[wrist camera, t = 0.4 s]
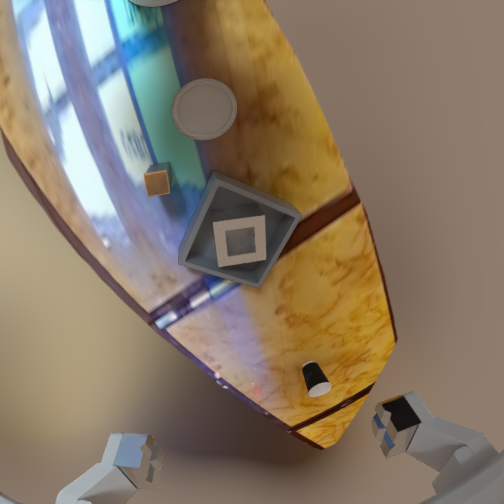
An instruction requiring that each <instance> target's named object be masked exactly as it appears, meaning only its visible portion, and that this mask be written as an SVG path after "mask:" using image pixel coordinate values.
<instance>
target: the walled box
mask: <svg viewBox="0 0 504 504" xmlns="http://www.w3.org/2000/svg"><path fill="white" fill-rule="evenodd" d="M253 204H258V206H259V207H260V209H261V210H262V212H263V213H264V215H265V234H266V260H261V261H255V262H249V263H242V264H236V265H229V266H223V267H218V262H217V258H216V253H215V245H214V238H213V230H212V222H211V213H210V210H215V209H222V208H229V207H237V206H245V205H253ZM301 217H302V215H301V214H300V212H299V211H298V210H297V209H296V208H295V207H294V206H293V205H292V204H290V203H288V202H285V201H283V200H281V199H279V198H277V197H274V196H272V195H270V194H268V193H265V192H263V191H261V190H258V189H256V188H254V187H251V186H249V185H247V184H244V183H242V182H240V181H237V180H235V179H233V178H230V177H228V176H225V175H223V174H220V173H218V172H216V171H212V174H211V176H210V178H209V180H208V182H207V184H206V187H205V189H204V191H203V193H202V195H201V198H200V200H199V202H198V204H197V207H196V209H195V211H194V214H193V216H192V218H191V220H190V223H189V225H188V228H187V230H186V232H185V235H184V237H183V239H182V242H181V244H180V247H179V249H178V264H179V265H182V266H185V267H189V268H192V269H195V270H198V271H202V272H205V273H208V274H211V275H215V276H218V277H221V278H225V279H228V280H231V281H235V282H238V283H242V284H245V285H249V286H252V287H255V288H259V289H260V287H261V285H262V284H263V282H264V280H265V279H266V277H267V275H268V274H269V272H270V270H271V268H272V267H273V265H274V263H275V262H276V260H277V258H278V257H279V255H280V253H281V251H282V250H283V248H284V246H285V244H286V243H287V241H288V239H289V238H290V236H291V234H292V232H293V231H294V229H295V227H296V225H297V224H298V222H299V220H300V218H301Z"/></svg>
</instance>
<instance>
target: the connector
mask: <svg viewBox="0 0 504 504" xmlns="http://www.w3.org/2000/svg"><path fill="white" fill-rule="evenodd" d="M144 180H145V185H146V191H147V196H148V197H151V196H157V195H163V194H169V193H170V186H171V181H172V179H171V172H170V165H169V162H166V163H160V164H154V165H150V167H149V169H148V170H147V172H146V174H144Z"/></svg>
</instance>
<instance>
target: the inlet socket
mask: <svg viewBox="0 0 504 504" xmlns="http://www.w3.org/2000/svg"><path fill="white" fill-rule="evenodd" d="M210 213H211V222H212V230H213V238H214V245H215V253H216V258H217V262H218V267H223V266H229V265H236V264H242V263H249V262H255V261H261V260H266V234H265V215H264V213H263V212H262V210H261V209H260V207H259V206H258V204H253V205H245V206H237V207H229V208H222V209H215V210H210Z"/></svg>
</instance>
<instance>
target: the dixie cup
mask: <svg viewBox="0 0 504 504" xmlns="http://www.w3.org/2000/svg"><path fill="white" fill-rule="evenodd" d="M302 371H303V375H304V378H305V382H306V386H307V389H308V395H309V396H310V397H318V396H321V395H324V394H325V393H327V392H328V391H329V390H330V389H331V387H332V384H331V383H329V381H328V380H327V378H326V376H325V375H324V373H323V372H322V370H321V369H320V367H319V366H318V364H317V363H316V362H315V361H313V360H311V361H307V362H306V363H304V364H303V366H302Z"/></svg>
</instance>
